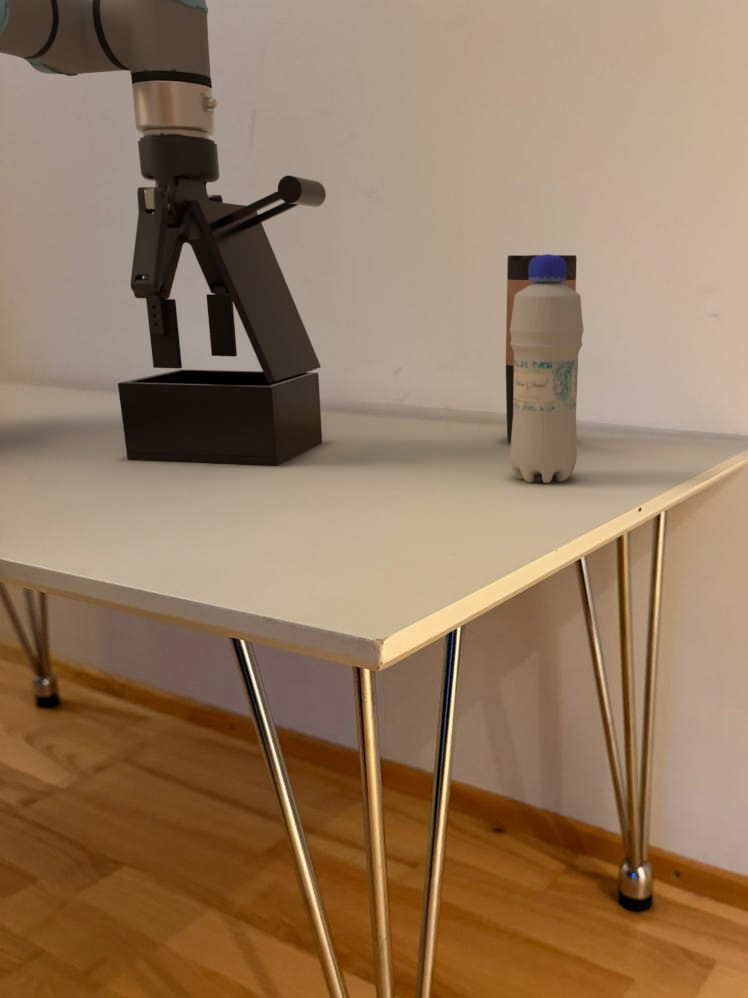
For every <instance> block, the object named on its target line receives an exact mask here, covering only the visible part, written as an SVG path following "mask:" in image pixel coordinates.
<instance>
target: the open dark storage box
mask: <svg viewBox="0 0 748 998" xmlns="http://www.w3.org/2000/svg"><path fill="white" fill-rule="evenodd" d="M117 389H118V396H119V397H118V398H119V404H120V411H121V412H120V413H121V419H122V420H121V421H122V428H123V435H124V443H125V451H126V459H127V461H128V460H130V461H153V462H176V463H177V462H178V463H200V464H201V463H203V464H223V465H224V464H225V465H248V466H249V465H250V466H251V465H252V466H272V467H274V466H275V467H277V466H279V465H281V464H283V463H285V462H288V461H289V460H291V459H294V458H295V457H297V456H299V455H301V454H303V453H305V452H307V451H309V450H311V449H313V448H315V447H317V446H319V445H321V444H323V431H322V429H323V428H322V415H321V414H322V411H321V395H320V393H321V392H320V377H319V372H311V371H309V372H306V373H302V374H299V375H296V376H292V377H289V378H285V379H282V380H279V381H275V382H272V383H268V382H267V380H266V377H265V375H264V373H263V370H224V369H223V370H220V369H219V370H217V369H182V368H179V369H175V370H172V371H166V372H161V373H157V374H153V375H148V376H143V377H139V378H135V379H130V380H129V379H128V380H126V381H121V382H117Z"/></svg>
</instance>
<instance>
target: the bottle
mask: <svg viewBox="0 0 748 998" xmlns="http://www.w3.org/2000/svg"><path fill="white" fill-rule="evenodd" d="M540 255H541V256H537V257H534V258H533V259H532V260H531V261H530V263H529V269H528V278H529V281H535V283H533V284H531V285H530V286H528V287H526V288H525V289H523V290H521V291H520V292H518V293H516V295H515V298H514V305H513V313H512V319H511V326H510V333H511V343H510V345H511V347H512V349H513V352H514V384H513V423H512V435H511V443H510V466H511V470H512V473H513V474H514V476H515V477H516V478H518V479H520V480H524V481H525V482H527V483H533V482H534V480H535V475H536V474H537V475H541V479H542V480H541V481H542V482H543V483H544V484H549V483H550V482H551V481H552V479H553V476H556V480H557V482H558V483H559V482H564V481H566V480H568V479H569V477H570V476H571V475H572V474H573V473H574V470H575V467H576V463H577V457H578V432H577V405H578V404H577V403H578V402H577V401H578V400H577V399H578V373H579V353H580V350H581V348H582V347H583V334H584V331H585V329H584V323H583V311H582V300H581V294H580V293H578V292H577V291H576V292H575V291H574V290H572V289H570V288H569V287H567V286H566V285H564V284H563V283H561V282H563V281H566V262H565V260H564V259H563V258H561V257H559V256H555V255H556V254H547V253H546V254H540Z"/></svg>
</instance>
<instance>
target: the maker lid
mask: <svg viewBox="0 0 748 998" xmlns="http://www.w3.org/2000/svg"><path fill="white" fill-rule="evenodd" d="M326 193H327V192H326V189H325V186H324V185H323V184H322V183H321V182H319V181H318V180H312V179H309V178H304V177H299V176H294V175H284V176H283V177H282V178H280V180H279V182H278V184H277V191H274V192H273V193H270V194H268V195H266V196H264V197H263V198H260V199H258V200H256V201H254V202H251V203H250V204H248V205H245V204H236V203H229V202H223V203H221V202H213V201H205V200H195V201H193V202H191V205H192V208H193V210H194V212H195V215H196V217H197V219H198V222H199V224H200V226H201V228H202V231H203V233H204V235H205V238H206V240H207V242H208V245H209V247H210V249H211V252H212V254H213V256H214V259H215V261H216V263H217V266H218V268H219V270H220V273H221V275H222V277H223V280H224V282H225V284H226V287H227V289H228V291H229V294H230V296H231V298H232V301H233V306H234V308H235V310H236V312H237V314H238V316H239V319H240V322H241V323H242V326H243V328H244V331H245V334H246V335H247V338H248V340H249V342H250V344H251V347H252V349H253V351H254V354H255V356H256V359H257V361H258V363H259V366H260V368H261V371H263V373H264V375H265V377H266V380H267V382H268V383H272V382H275V381H279V380H282V379H285V378H289V377H292V376H296V375H299V374H302V373H306V372H313V371H315V370H318V369H320V368H322V366H321V363H320V361H319V359H318V356H317V354H316V351H315V349H314V346H313V344H312V342H311V338H310V337H309V334H308V332H307V329H306V327H305V325H304V323H303V320H302V318H301V315H300V313H299V310H298V308H297V305H296V303H295V300H294V297H293V295H292V294H291V293H292V292H291V290H290V288H289V285H288V283H287V281H286V278H285V276H284V273H283V271H282V268H281V266H280V264H279V261H278V259H277V257H276V254H275V252H274V250H273V247H272V244H271V243H270V240H269V237H268V235H267V233H266V230H265V227H264V225H263V223H265V222H267V221H268V220H270V219H273V218H275V217H277V216H279V215H282V214H283V213H285V212H287V211H290V210H292V209H294V208H296V207H298V206H306V207H314V208H317V207H320V206H321V205H323V203H324V202H325V201H326V196H327V194H326ZM280 201H283V202H282V203H280V204H278V205H276V206H273V207H271V208H269V209H267V210H265V211H263V212H261V213H258V211H261V210H263V209H265V208H267V207H269V206H271V205H273V204H275V203H277V202H280Z"/></svg>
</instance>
